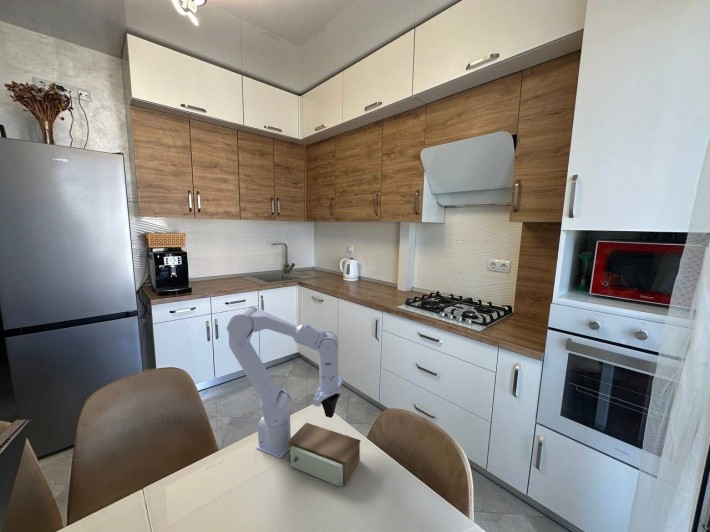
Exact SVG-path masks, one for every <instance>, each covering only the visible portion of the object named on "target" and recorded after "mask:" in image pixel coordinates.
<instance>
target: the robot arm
mask: <svg viewBox="0 0 710 532" xmlns="http://www.w3.org/2000/svg"><path fill="white" fill-rule="evenodd" d="M226 330H227V332H228V346H229V348H230V350H231V352H232V354H233V355H234V357H235V359H236V360H237V362H238V364H239V365H240V366H241V369H242V370H243V372H244V373H245V376H247V378H248V380H249V381H250V383H251V385H252V386H253V388H254V390H255V391H256V393H257V395H258V396H259V406H260V410H261V411H262V417H261V418H260V420H259V422H258V424H257V437H258V438H257V439H258V445H257V446H256V449H257V450H259V451H262V452H264V453H266V454H269V455H271V456H274V457H276V458H279V459H282V458H283V457H284V456H285V455H286V454H287V453H288V452H289V443H288V441H289V440H290V439H291V438H292V436H291V434H292V433H291V431H292V430H291V413H290V412H289V406H290V405H291V403H292V398H291V395H290V394H289V392H288V391H285V390H284V389H283V388H282V386H281V385H280V384H276V383H275V382H274V380H273V378H272V376H271V375H270V372H269V371H268V369H267V368H266V366H265V365H264V363H263V361H262V360H261V358H260V356H259V354H258V353H257V351H256V350H255V348H254V346H253V345H252V343H251V338H252V336H253V334H254V333H256V332H261V331H263V330H270V331H273V332H276V333H279V334H283V335H286V336H289V337H292V338H293V341H294V343H295V344H298V345H301V346H304V347H306V348H308V349H312V350H314V351H317V352H318V354H319V358H318V366H319V367H318V368H319V369H318V371H319V372H318V373H319V376H318V377H319V379H318V380H319V387H318V390H317V391H316V394H315V396H314V397H313V398H312V401H313V402H312V405H313V406H314V407H320V406H322V408H323V411H324V415H325V417H327V418H330V419H332V418H333V417H334V415H335V411H336V406H337V402H338V400H339V398H340V396H341V393H342V392H343V388H341V385H343V384H344V377H343V376H342V377H341V376H339V352H338V351H339V338H338V335H337V334H336V333H335V332H333V331H332V330H327V331H326V330H320V329H317V328H314V327H312V325H311V324H309V323H306V324H304V323H301V324H299V325H296V324H293V323H292V322H289V321H286V320H284V319H282V318H281V317H278V316H276V315H273V314H271V313H269V312H267V311H265V310H264V309H261V308H257V307H254V306H246V307H244V308H243V309H242V310H241V311H240V312H238V313H236V314H235V315H233V316H232V317H231V318H230V319H229V322H228V324H227V326H226Z"/></svg>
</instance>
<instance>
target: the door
mask: <svg viewBox="0 0 710 532" xmlns="http://www.w3.org/2000/svg"><path fill="white" fill-rule="evenodd" d="M290 457H291V463H290V467H291V468H294V469H297V470H299V471H301V472H303V473H306V474H308V475H311V476H313V477H315V478H318V479H320V480H322V481H325V482H327V483H330V484H332V485H334V486H336V487H339V488H343V487H344V484H343V465H342V464H340V463H337V462H334V461H332V460H329V459H326V458H324V457H321V456H318V455H316V454H313V453H310V452H308V451H305V450H302V449H300V448H297V447H294V446H292V447H291V448H290Z"/></svg>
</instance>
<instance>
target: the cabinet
mask: <svg viewBox="0 0 710 532" xmlns="http://www.w3.org/2000/svg"><path fill="white" fill-rule="evenodd" d="M288 443H289V450H288V459H289V460H288V461H289V463H290V464H291V457H290V448H291V447H292V446H294V447H297V448H300V449H302V450H305V451H308V452H310V453H313V454H316V455H318V456H321V457H324V458H326V459H329V460H332V461H334V462H337V463H340V464H342V465H343V485H345V486H346V484H347V483H348V481H349V479H350V478H351V476H352V474H353V473H354V471H355V470H356V467H357V466H358V465H359V463H360V462H361V461H360V459H361V458H360V457H361V455H360V454H361V451H360V450H361V448H360V447H361V444H360V443H361V439H359V438H355V437H352V436H349V435H346V434H342V433H340V432H337V431H334V430H331V429H327V428H324V427H321V426H318V425H314V424H311V423H309V422H305V423H304V424H303V425H302V426H301V427H300V428H299V429H298V430H297V431H296V432H295V433H294V435H292V436H291V439H290V440H289V441H288Z"/></svg>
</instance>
